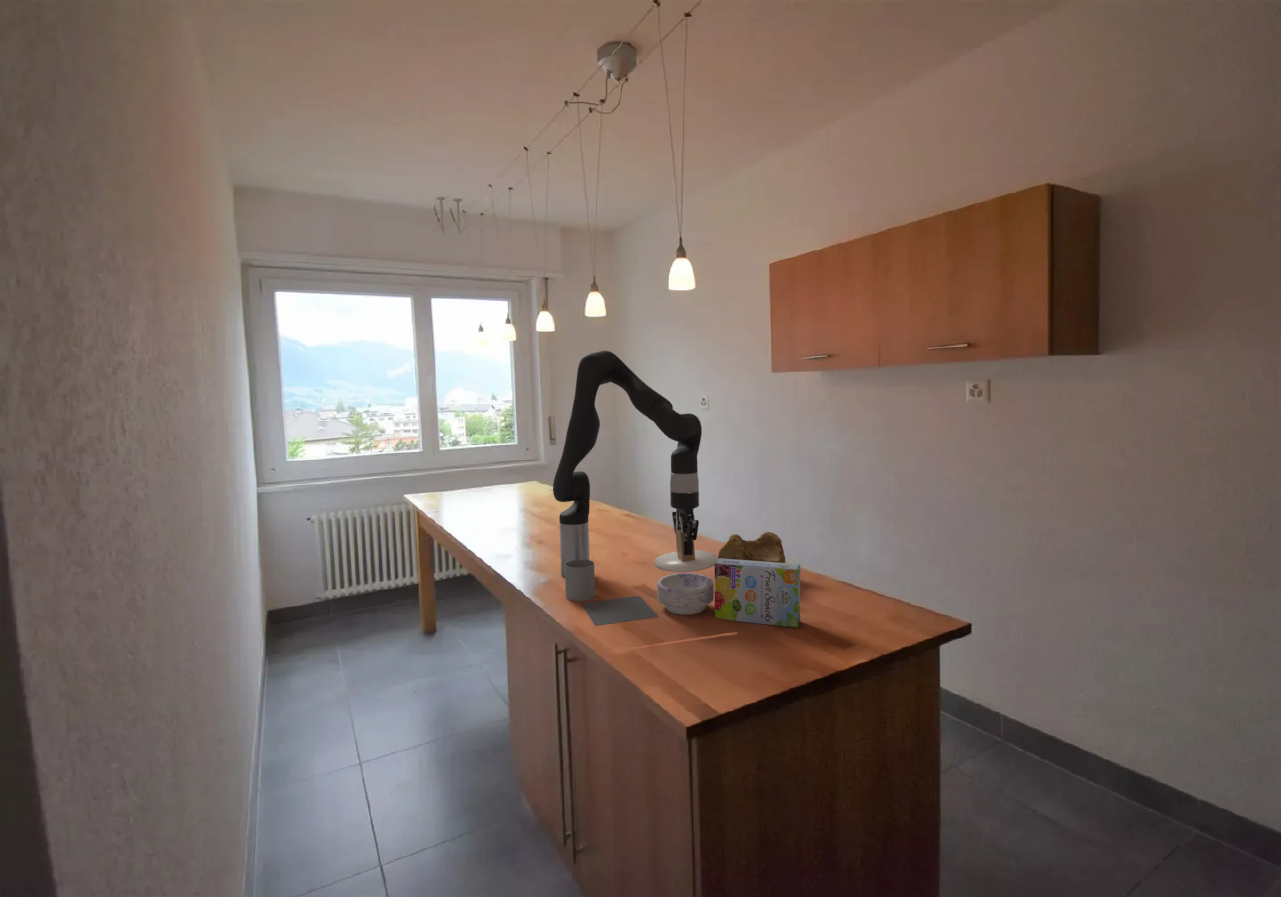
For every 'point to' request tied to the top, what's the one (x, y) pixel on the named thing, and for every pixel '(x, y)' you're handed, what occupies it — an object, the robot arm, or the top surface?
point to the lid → (685, 558)
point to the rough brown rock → (754, 549)
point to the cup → (579, 580)
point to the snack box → (757, 592)
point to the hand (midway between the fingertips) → (685, 552)
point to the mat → (618, 610)
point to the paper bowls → (685, 592)
